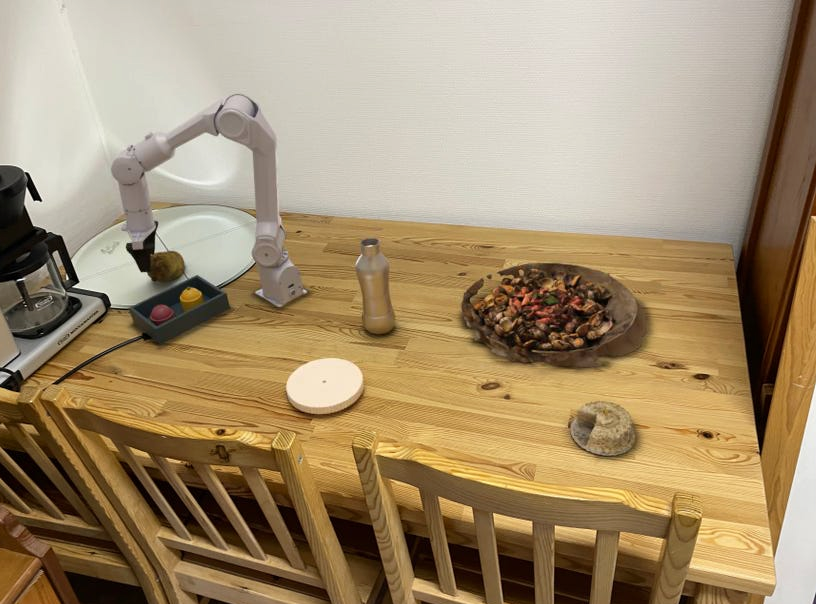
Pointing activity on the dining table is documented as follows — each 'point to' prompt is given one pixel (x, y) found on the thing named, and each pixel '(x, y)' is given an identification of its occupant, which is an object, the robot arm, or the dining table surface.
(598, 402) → the cake
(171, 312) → the dark red hollow cup
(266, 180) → the robot arm
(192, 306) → the orange rounded piece
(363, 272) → the plastic bottle
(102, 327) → the dining table surface
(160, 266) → the potato
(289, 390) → the plastic lid
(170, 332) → the tote
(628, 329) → the food dish
